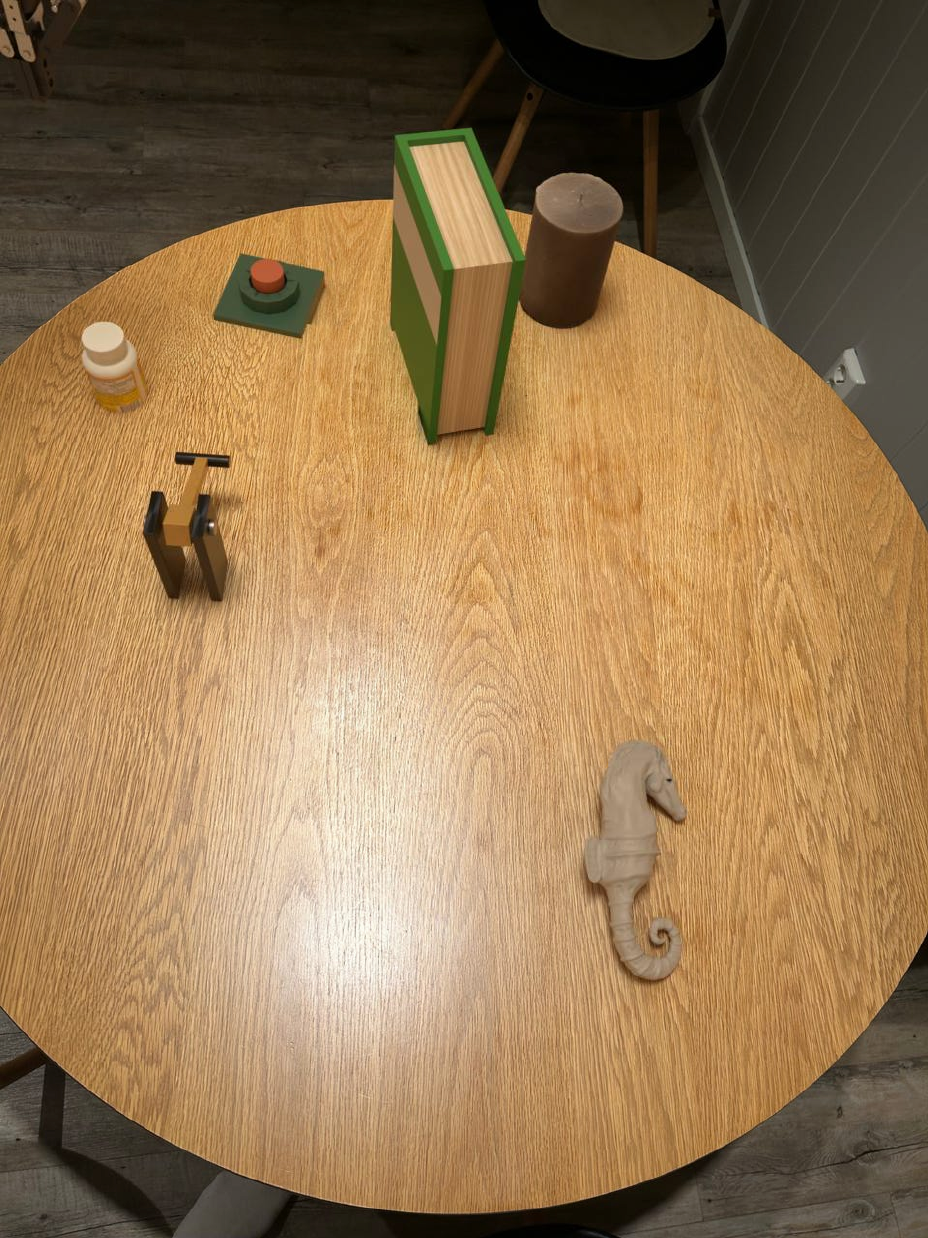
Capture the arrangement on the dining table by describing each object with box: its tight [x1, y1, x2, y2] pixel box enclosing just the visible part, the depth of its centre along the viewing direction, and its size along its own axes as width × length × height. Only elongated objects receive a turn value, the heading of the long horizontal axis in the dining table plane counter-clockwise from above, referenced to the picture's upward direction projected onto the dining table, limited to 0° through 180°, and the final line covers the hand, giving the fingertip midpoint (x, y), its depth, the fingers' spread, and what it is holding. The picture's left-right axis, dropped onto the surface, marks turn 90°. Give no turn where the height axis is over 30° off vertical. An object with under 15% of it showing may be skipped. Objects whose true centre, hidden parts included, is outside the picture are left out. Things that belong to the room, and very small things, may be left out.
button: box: [251, 258, 285, 294], centre depth 104 cm, size 4×4×2 cm
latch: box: [163, 451, 232, 548], centre depth 84 cm, size 12×5×2 cm, turn 179°
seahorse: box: [583, 739, 688, 981], centre depth 81 cm, size 5×12×20 cm
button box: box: [212, 252, 326, 339], centre depth 106 cm, size 10×10×4 cm
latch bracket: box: [142, 490, 229, 602], centre depth 85 cm, size 10×8×13 cm
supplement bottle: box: [81, 321, 149, 414], centre depth 96 cm, size 5×5×10 cm
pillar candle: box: [518, 172, 624, 329], centre depth 106 cm, size 10×10×15 cm
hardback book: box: [389, 127, 526, 446], centre depth 95 cm, size 18×7×24 cm, turn 16°
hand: (40, 95), depth 78 cm, fingers closed
